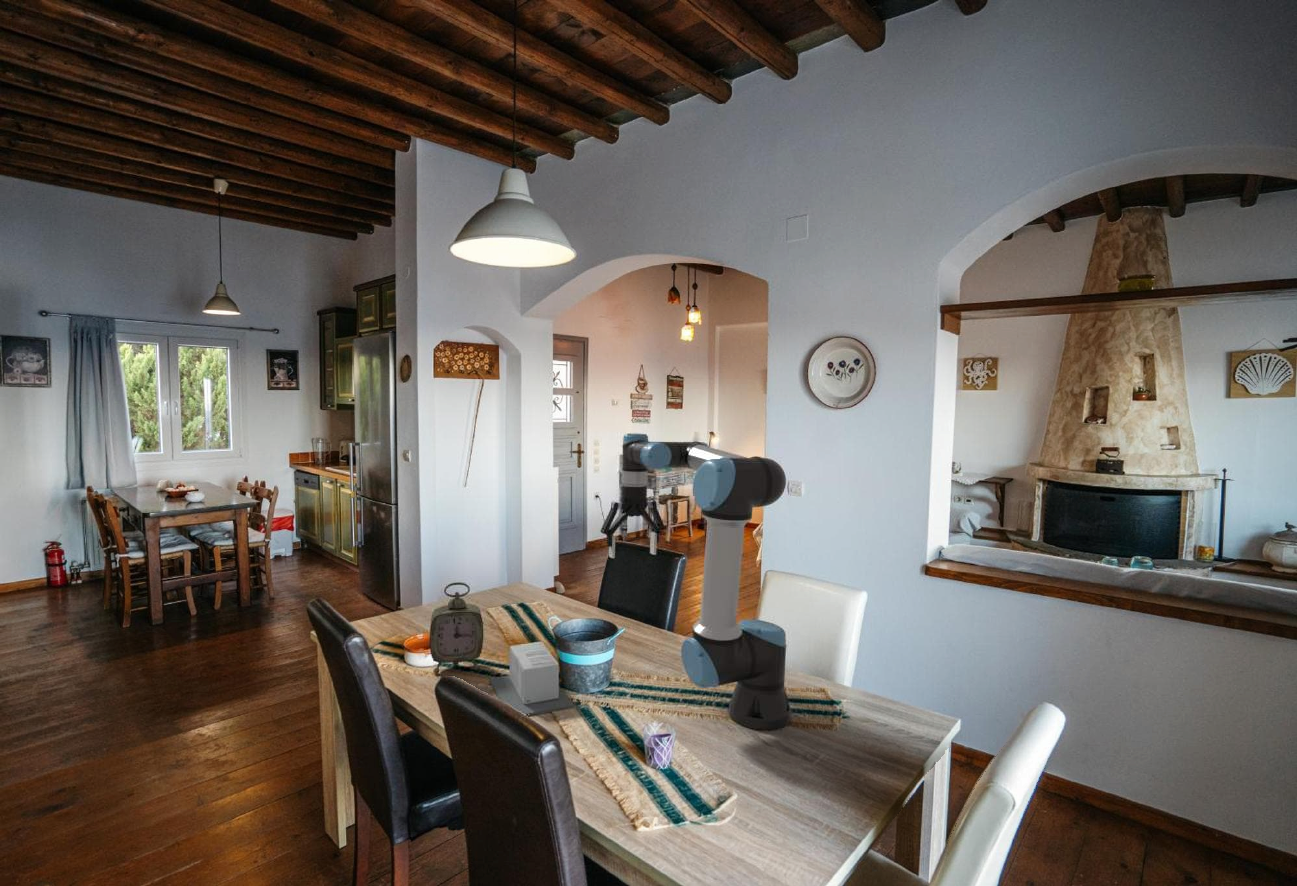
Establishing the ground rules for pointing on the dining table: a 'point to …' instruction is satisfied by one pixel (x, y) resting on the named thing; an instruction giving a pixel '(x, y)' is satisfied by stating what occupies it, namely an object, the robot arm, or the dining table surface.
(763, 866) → the dining table surface
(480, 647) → the tabletop clock
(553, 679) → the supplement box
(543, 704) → the mat
